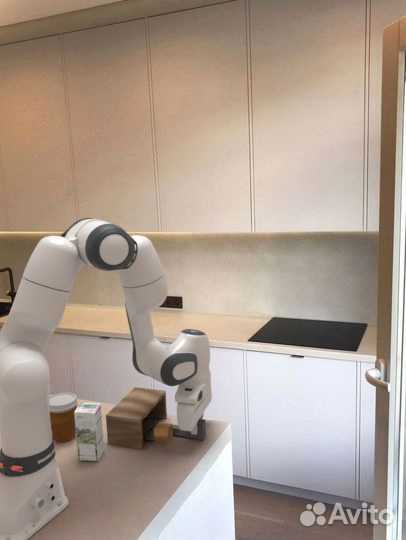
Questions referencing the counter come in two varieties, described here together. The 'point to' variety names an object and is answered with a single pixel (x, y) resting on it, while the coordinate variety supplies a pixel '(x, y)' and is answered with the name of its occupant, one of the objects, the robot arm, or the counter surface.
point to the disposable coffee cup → (63, 416)
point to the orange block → (163, 432)
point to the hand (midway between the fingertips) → (196, 429)
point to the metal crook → (181, 431)
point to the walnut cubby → (134, 416)
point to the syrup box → (89, 431)
